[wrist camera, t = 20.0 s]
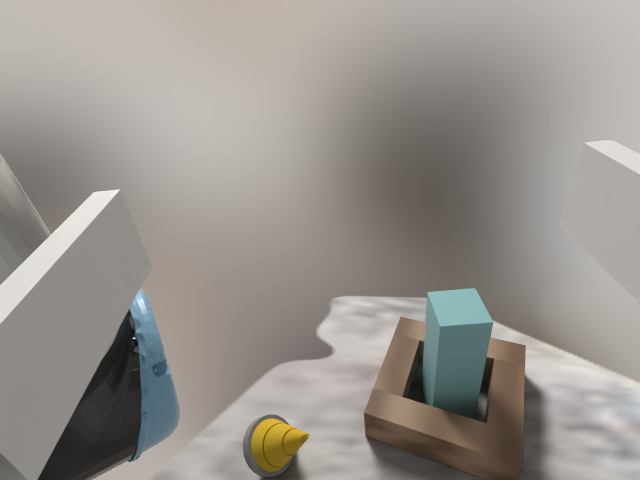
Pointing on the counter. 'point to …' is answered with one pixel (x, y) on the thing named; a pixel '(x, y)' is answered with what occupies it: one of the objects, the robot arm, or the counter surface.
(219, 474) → the counter surface
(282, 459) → the yellow grooved cone
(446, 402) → the teal peg
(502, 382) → the block
